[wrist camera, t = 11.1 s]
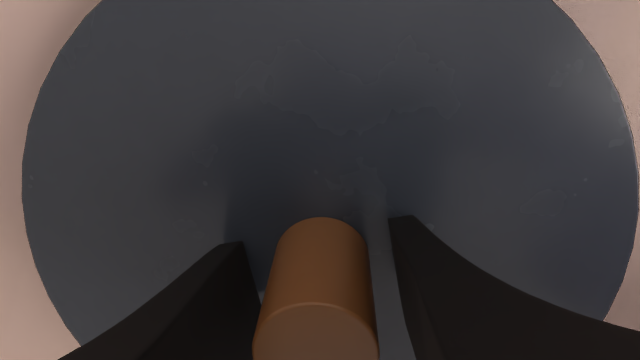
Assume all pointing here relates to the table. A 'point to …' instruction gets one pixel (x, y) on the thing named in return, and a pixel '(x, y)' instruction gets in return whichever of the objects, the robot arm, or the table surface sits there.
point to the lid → (326, 159)
